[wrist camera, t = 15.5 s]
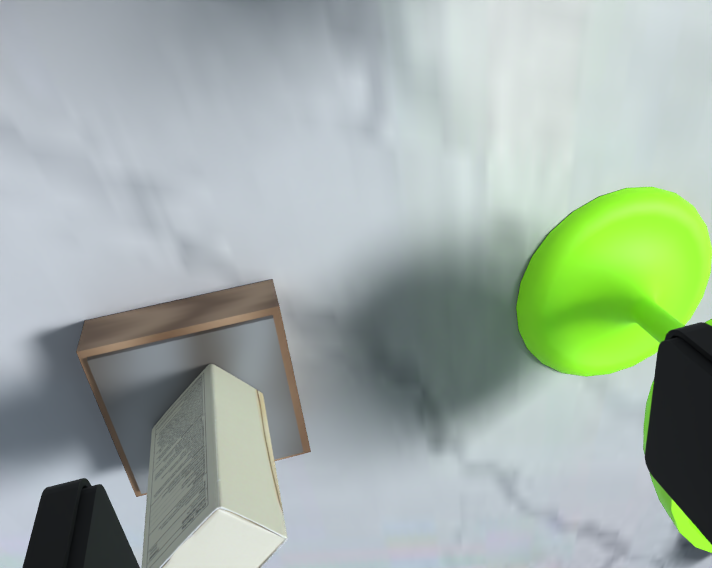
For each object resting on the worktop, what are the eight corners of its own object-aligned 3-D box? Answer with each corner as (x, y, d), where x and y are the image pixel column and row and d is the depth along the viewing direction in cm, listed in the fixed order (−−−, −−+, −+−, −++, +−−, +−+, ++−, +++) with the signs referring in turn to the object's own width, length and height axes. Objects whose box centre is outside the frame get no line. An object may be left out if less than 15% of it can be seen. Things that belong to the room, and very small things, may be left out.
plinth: (272, 279, 43) (280, 309, 39) (302, 418, 48) (311, 455, 45) (84, 320, 41) (75, 355, 38) (139, 459, 47) (135, 501, 43)
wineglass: (734, 291, 52) (964, 440, 37) (570, 407, 54) (724, 595, 39) (668, 140, 45) (925, 248, 29) (478, 282, 46) (625, 455, 31)
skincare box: (205, 455, 43) (212, 622, 32) (147, 426, 41) (134, 595, 30) (266, 389, 42) (293, 541, 31) (209, 357, 40) (217, 507, 29)
